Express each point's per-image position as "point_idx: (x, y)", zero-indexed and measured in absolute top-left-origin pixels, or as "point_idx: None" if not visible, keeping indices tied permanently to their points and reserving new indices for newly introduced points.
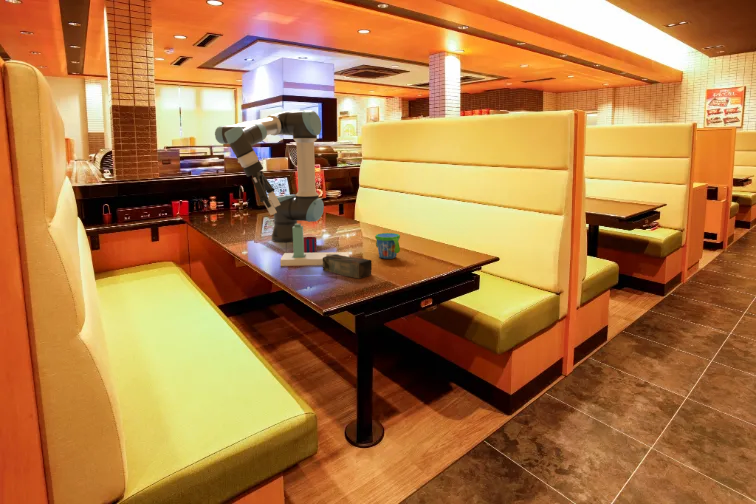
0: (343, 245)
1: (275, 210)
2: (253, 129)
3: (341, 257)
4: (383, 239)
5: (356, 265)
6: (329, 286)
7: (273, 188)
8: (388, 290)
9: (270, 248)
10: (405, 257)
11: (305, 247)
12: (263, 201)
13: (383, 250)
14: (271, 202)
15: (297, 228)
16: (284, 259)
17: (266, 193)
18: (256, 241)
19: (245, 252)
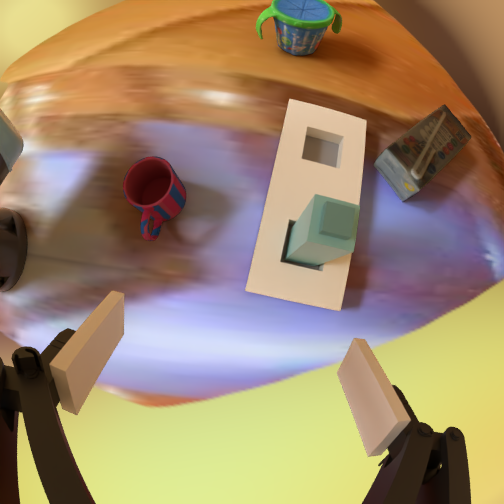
0: (123, 103)
1: (370, 349)
2: None
3: (430, 148)
4: (330, 23)
5: (467, 142)
6: (487, 217)
7: (15, 359)
8: (495, 140)
9: (77, 313)
10: None
11: (174, 206)
12: (382, 451)
13: (318, 41)
14: (384, 391)
15: (356, 228)
16: (339, 297)
17: (406, 462)
18: (5, 333)
19: (111, 392)
